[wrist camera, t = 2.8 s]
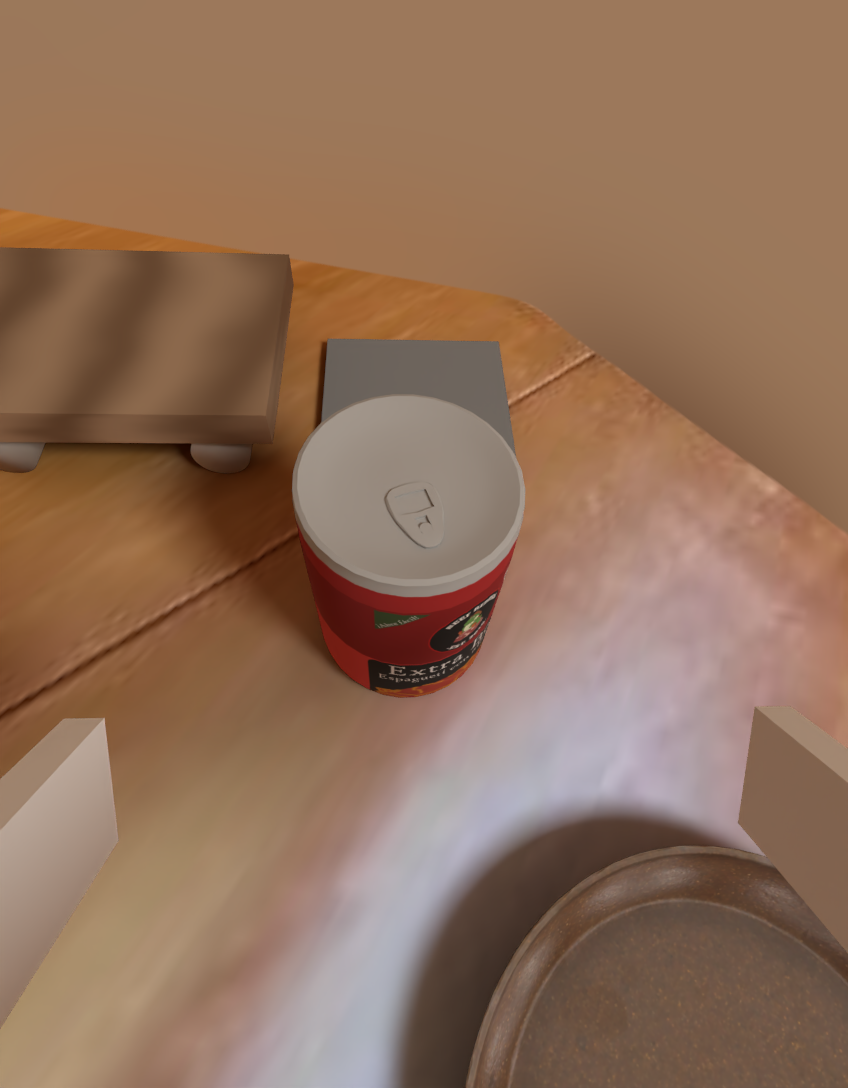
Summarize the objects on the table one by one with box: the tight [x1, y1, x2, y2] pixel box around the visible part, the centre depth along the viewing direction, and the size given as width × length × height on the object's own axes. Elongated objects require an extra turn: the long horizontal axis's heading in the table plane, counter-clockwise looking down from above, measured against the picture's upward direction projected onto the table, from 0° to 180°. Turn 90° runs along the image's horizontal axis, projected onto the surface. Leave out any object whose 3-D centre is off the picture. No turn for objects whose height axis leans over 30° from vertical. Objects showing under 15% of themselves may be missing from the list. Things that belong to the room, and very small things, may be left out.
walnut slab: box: [0, 247, 293, 473], centre depth 34 cm, size 17×13×5 cm
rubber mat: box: [321, 339, 516, 457], centre depth 36 cm, size 11×11×1 cm
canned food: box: [292, 394, 525, 698], centre depth 24 cm, size 8×8×11 cm
